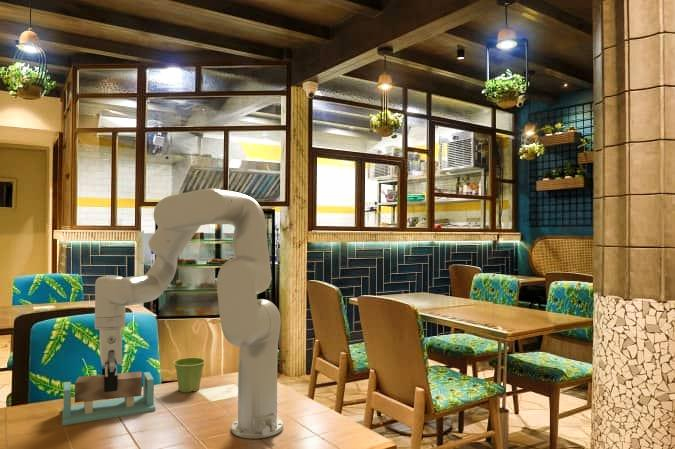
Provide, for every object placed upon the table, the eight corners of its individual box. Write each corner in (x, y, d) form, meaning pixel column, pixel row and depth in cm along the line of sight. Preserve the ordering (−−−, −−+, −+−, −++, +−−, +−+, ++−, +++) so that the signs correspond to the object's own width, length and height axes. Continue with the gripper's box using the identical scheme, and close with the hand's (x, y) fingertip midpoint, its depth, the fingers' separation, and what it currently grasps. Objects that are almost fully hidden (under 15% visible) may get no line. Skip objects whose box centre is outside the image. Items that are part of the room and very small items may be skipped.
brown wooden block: (74, 402, 128) (74, 383, 128) (78, 395, 134) (78, 376, 134) (141, 395, 134) (141, 377, 134) (141, 389, 139) (141, 371, 139)
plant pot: (209, 385, 156) (209, 357, 156) (198, 395, 147) (198, 365, 147) (180, 384, 157) (181, 357, 157) (167, 394, 148) (168, 364, 148)
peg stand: (148, 397, 144) (149, 370, 145) (155, 410, 134) (155, 380, 134) (62, 410, 134) (63, 380, 134) (62, 425, 123) (62, 393, 123)
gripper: (128, 326, 128) (128, 393, 128) (121, 316, 144) (121, 376, 143) (96, 328, 125) (95, 398, 125) (93, 318, 140) (92, 380, 140)
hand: (109, 386), depth 134 cm, fingers open, 8 cm apart
